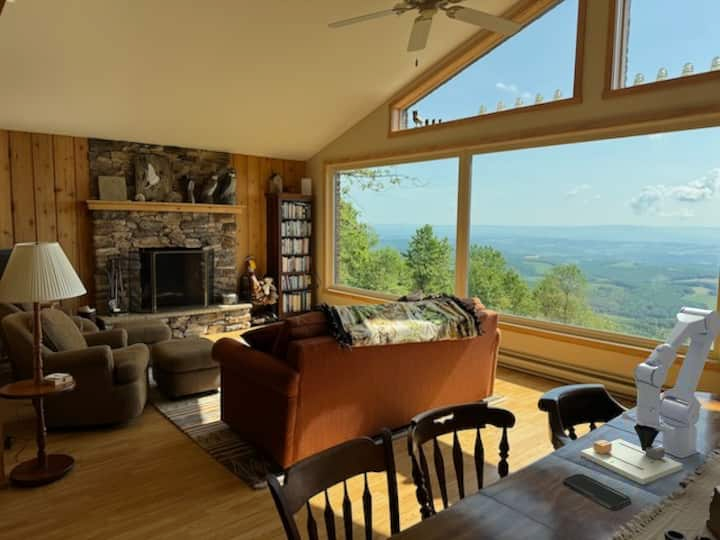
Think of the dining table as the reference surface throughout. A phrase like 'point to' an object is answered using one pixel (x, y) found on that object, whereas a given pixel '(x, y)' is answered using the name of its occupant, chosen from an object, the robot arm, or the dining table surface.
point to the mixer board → (632, 462)
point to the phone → (597, 491)
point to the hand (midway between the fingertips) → (646, 450)
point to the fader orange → (602, 446)
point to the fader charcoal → (655, 452)
